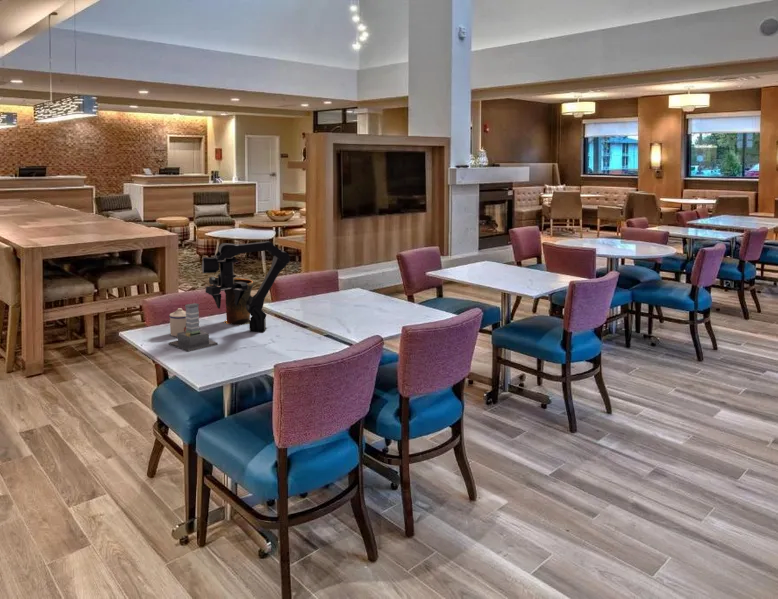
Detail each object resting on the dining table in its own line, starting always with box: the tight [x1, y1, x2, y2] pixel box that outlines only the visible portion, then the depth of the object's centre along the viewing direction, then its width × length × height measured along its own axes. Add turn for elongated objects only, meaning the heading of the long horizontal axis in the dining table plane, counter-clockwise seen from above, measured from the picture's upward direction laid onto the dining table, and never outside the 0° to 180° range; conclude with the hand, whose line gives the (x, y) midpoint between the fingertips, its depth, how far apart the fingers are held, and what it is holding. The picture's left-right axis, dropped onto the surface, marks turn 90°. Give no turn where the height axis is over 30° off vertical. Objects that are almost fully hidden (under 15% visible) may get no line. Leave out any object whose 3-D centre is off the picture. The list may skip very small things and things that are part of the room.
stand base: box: [168, 330, 219, 353], centre depth 261 cm, size 14×14×6 cm
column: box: [184, 302, 201, 334], centre depth 259 cm, size 5×4×12 cm
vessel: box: [223, 278, 254, 326], centre depth 299 cm, size 14×14×20 cm
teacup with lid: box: [169, 307, 187, 338], centre depth 277 cm, size 12×9×12 cm
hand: (227, 306), depth 278 cm, fingers open, 9 cm apart
